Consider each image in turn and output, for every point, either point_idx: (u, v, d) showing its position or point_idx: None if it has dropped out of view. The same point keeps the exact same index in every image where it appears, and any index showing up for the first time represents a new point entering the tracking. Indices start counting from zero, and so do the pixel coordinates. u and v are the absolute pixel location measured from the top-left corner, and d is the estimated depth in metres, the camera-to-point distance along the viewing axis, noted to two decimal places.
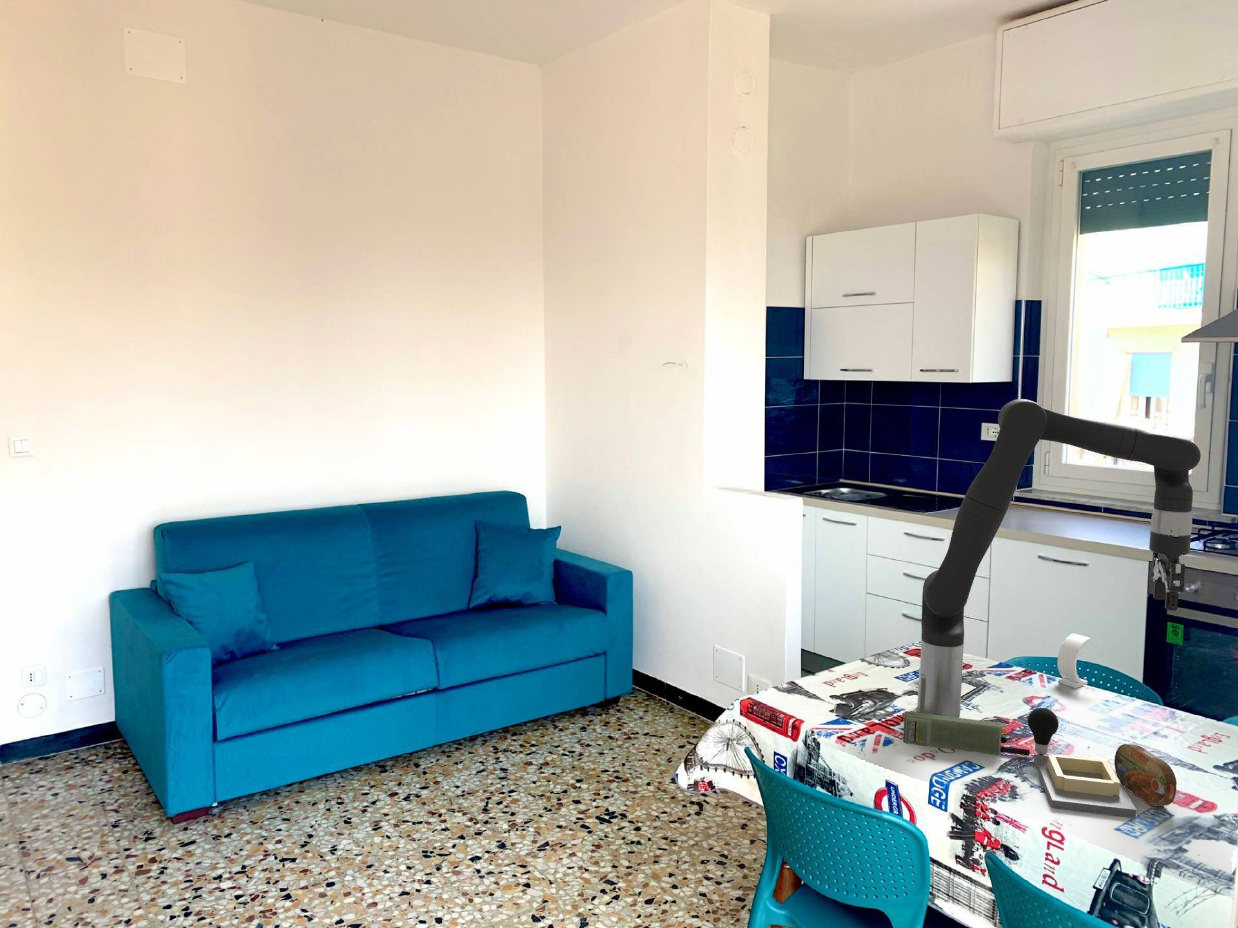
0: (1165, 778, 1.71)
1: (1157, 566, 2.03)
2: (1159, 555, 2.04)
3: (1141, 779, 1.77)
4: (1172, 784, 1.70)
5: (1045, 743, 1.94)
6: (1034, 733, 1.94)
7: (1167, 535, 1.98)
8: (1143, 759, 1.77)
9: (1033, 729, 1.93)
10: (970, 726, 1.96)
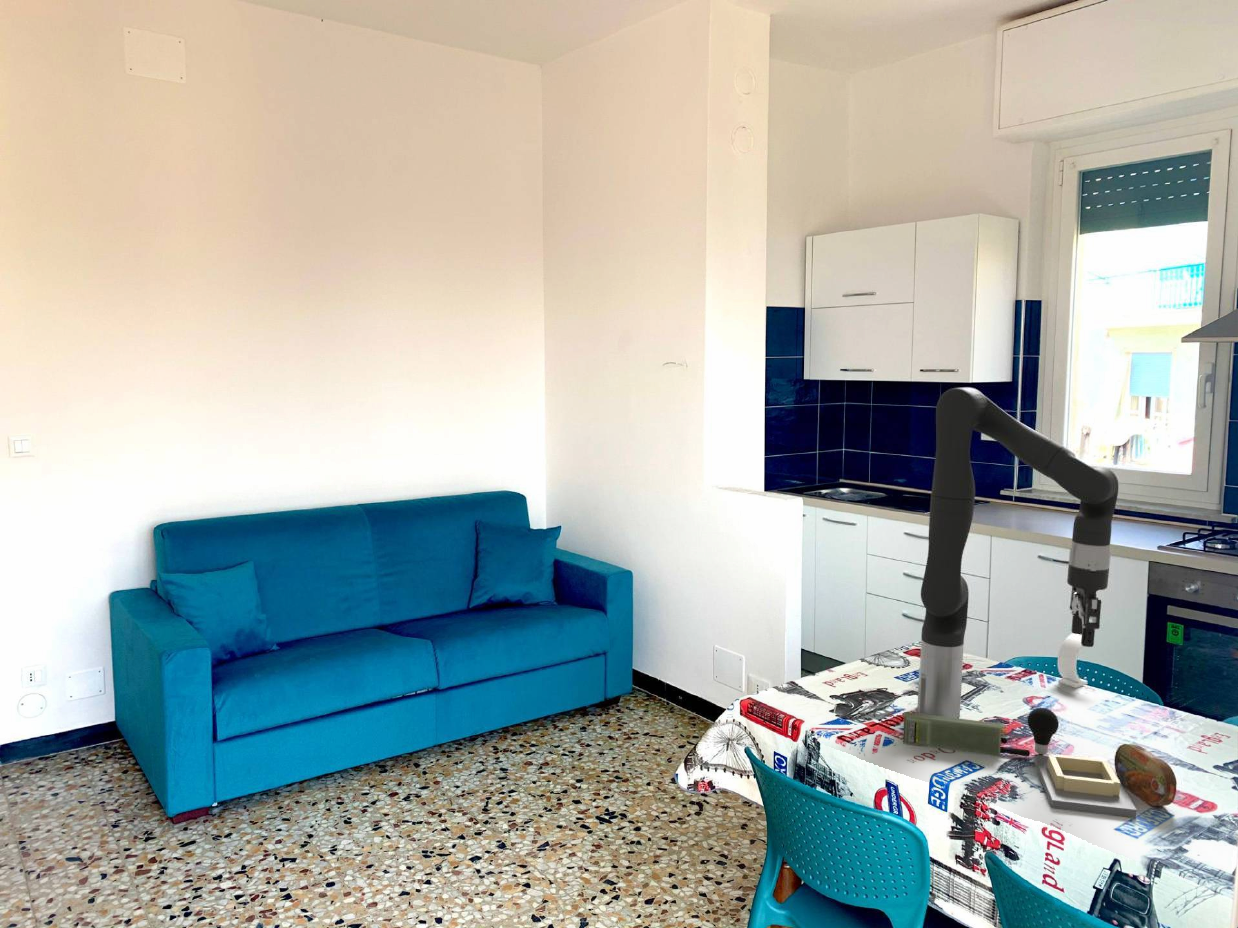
0: (1165, 778, 1.71)
1: (1075, 600, 1.97)
2: (1077, 588, 1.97)
3: (1141, 779, 1.77)
4: (1172, 784, 1.70)
5: (1045, 743, 1.94)
6: (1034, 733, 1.94)
7: (1084, 569, 1.91)
8: (1143, 759, 1.77)
9: (1033, 729, 1.93)
10: (970, 727, 1.96)
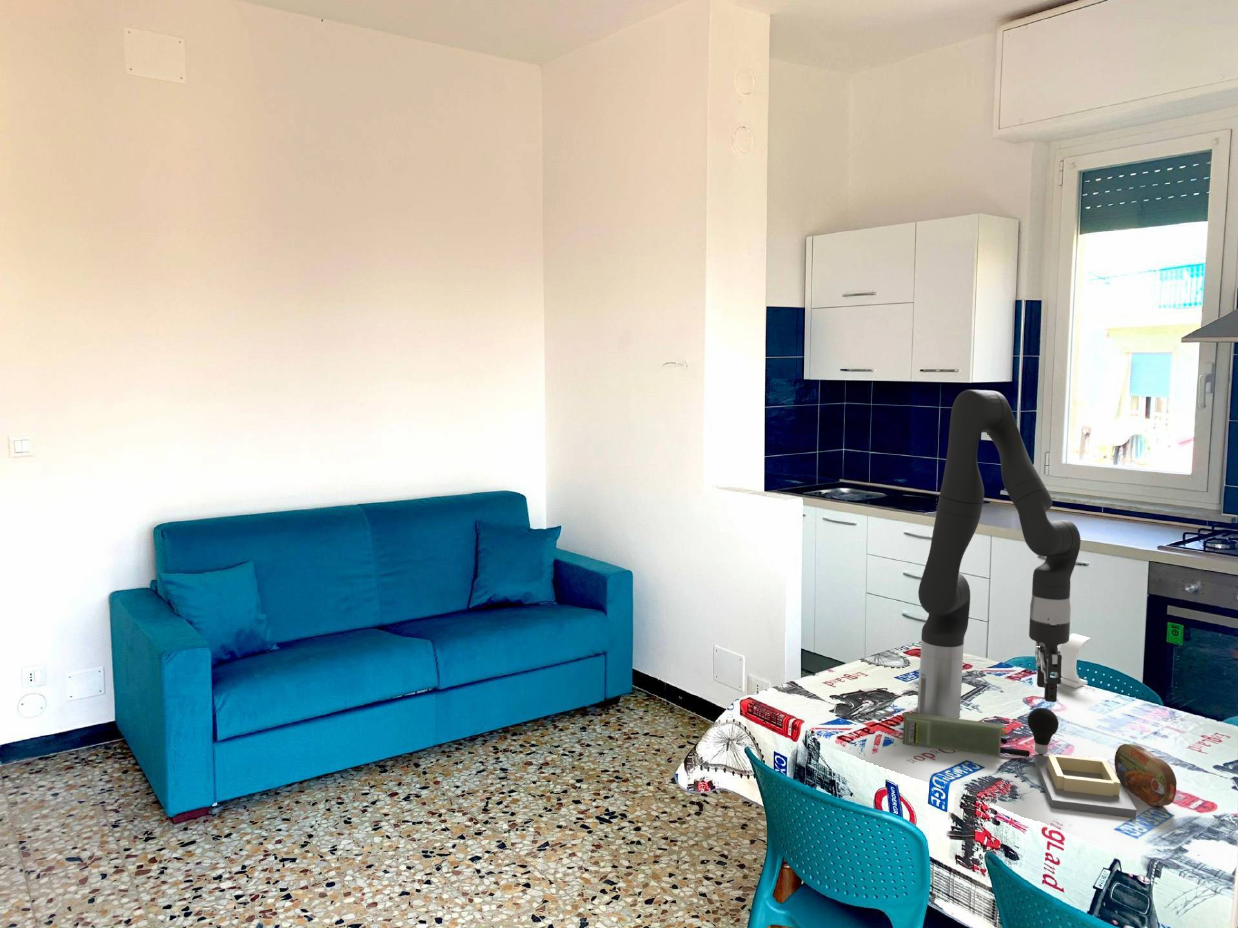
0: (1165, 778, 1.71)
1: (1038, 653, 1.94)
2: (1040, 642, 1.95)
3: (1141, 779, 1.77)
4: (1172, 784, 1.70)
5: (1045, 743, 1.94)
6: (1034, 733, 1.94)
7: (1044, 623, 1.89)
8: (1143, 759, 1.77)
9: (1033, 729, 1.93)
10: (970, 727, 1.95)
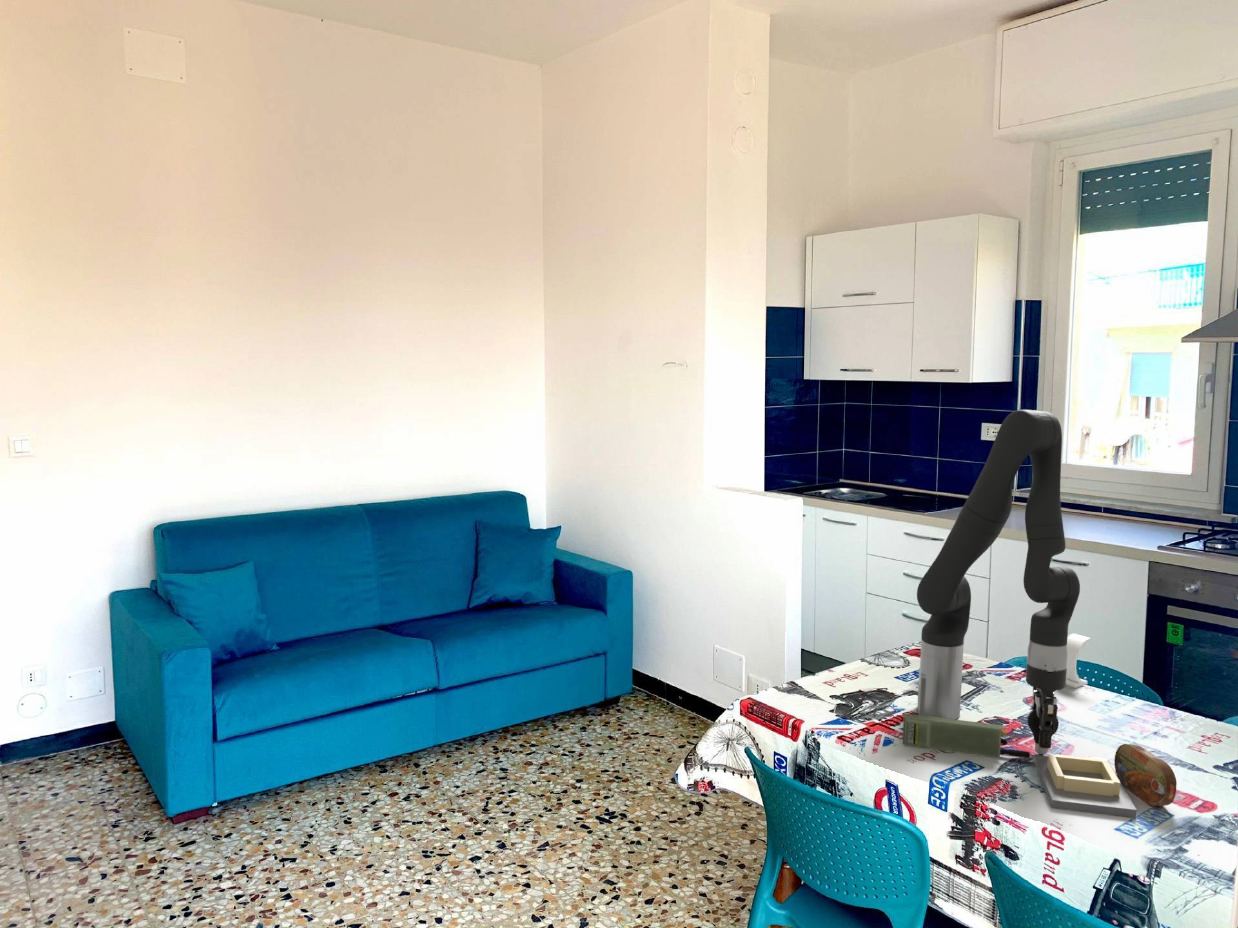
0: (1165, 778, 1.71)
1: (1035, 698, 1.95)
2: None
3: (1141, 779, 1.77)
4: (1172, 784, 1.70)
5: None
6: (1034, 733, 1.94)
7: (1041, 669, 1.90)
8: (1143, 759, 1.77)
9: (1033, 729, 1.93)
10: (970, 728, 1.95)
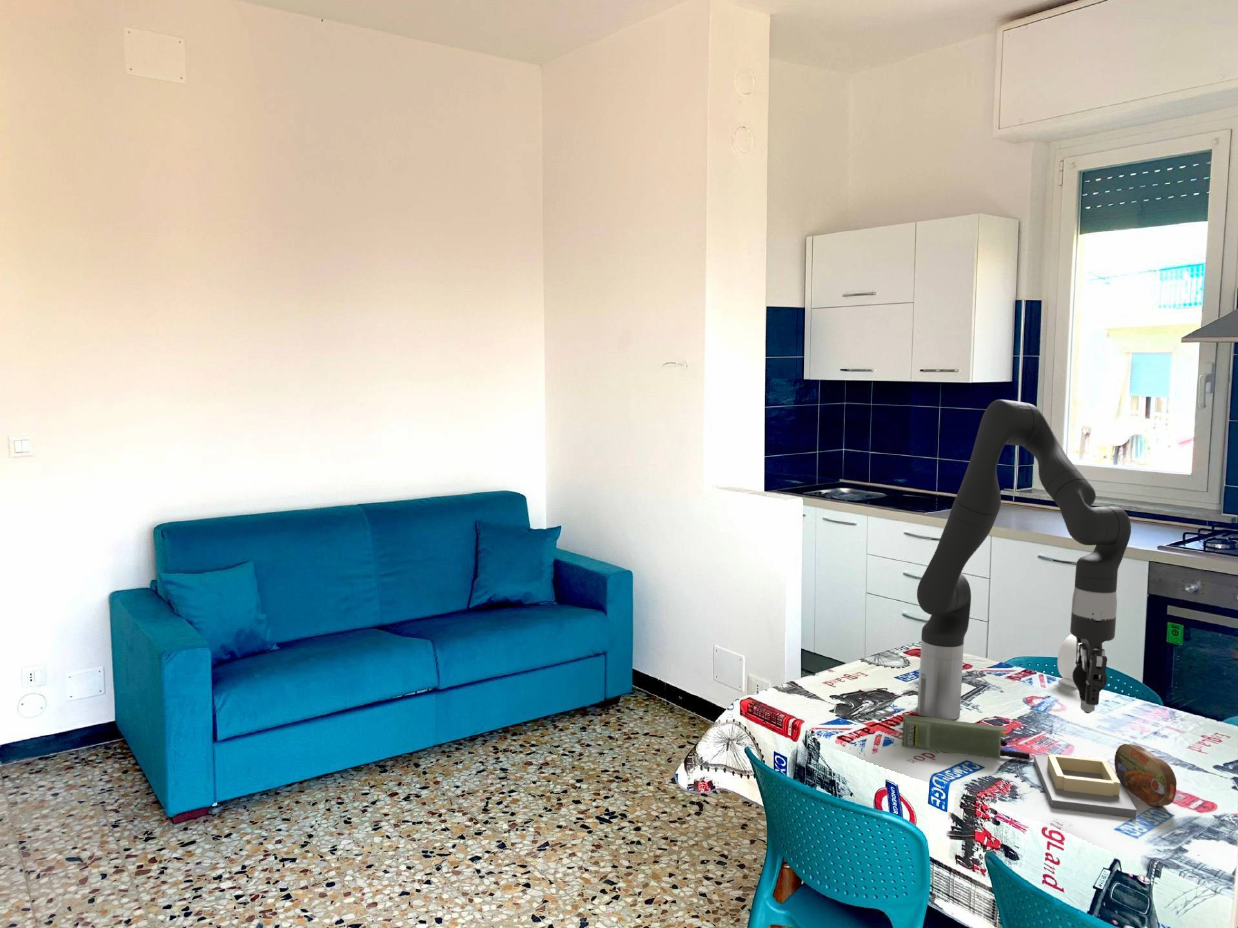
0: (1165, 778, 1.71)
1: (1080, 651, 1.79)
2: None
3: (1141, 779, 1.77)
4: (1172, 784, 1.70)
5: None
6: (1080, 689, 1.78)
7: (1088, 618, 1.74)
8: (1143, 759, 1.77)
9: (1079, 684, 1.77)
10: (970, 730, 1.94)
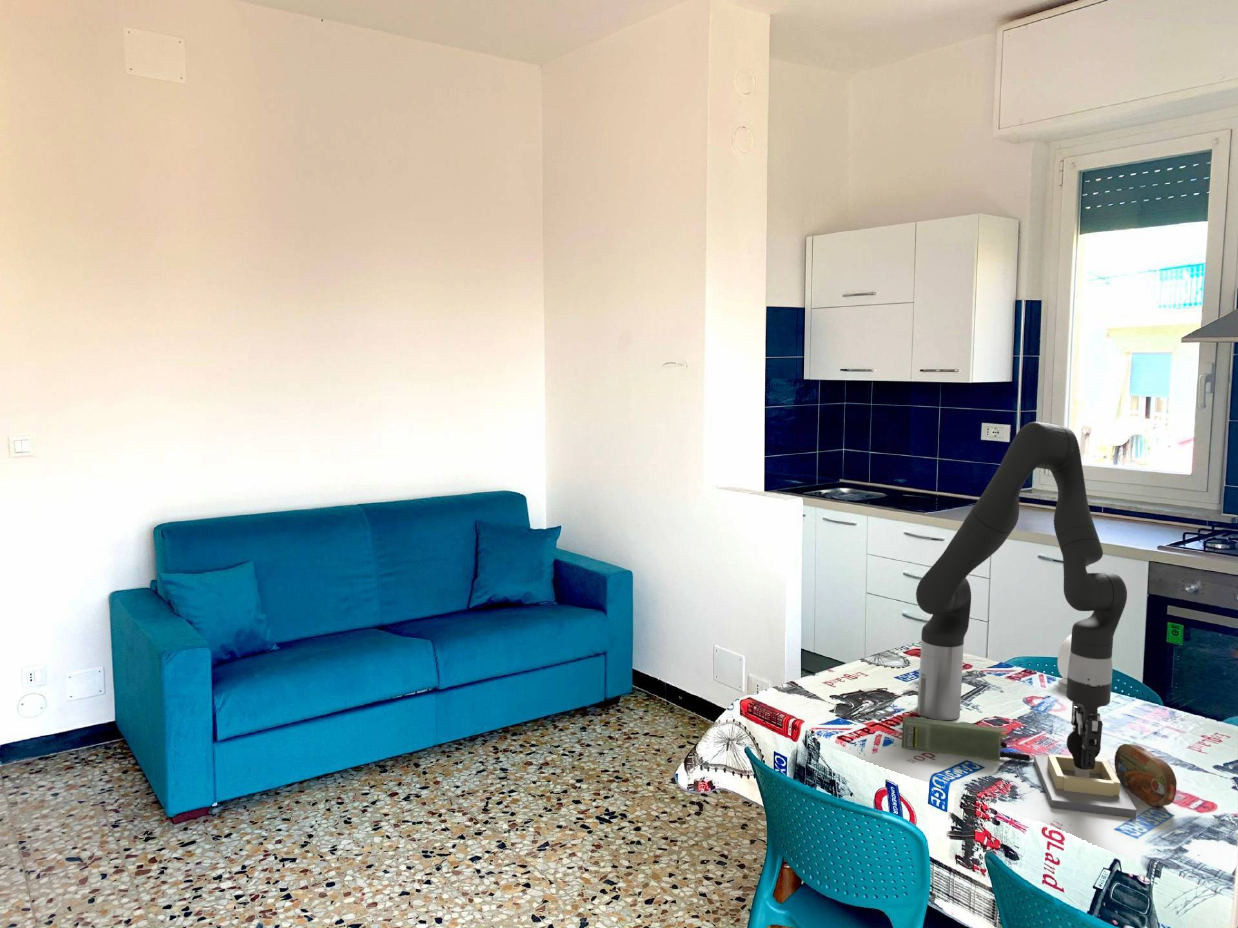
0: (1165, 778, 1.71)
1: (1075, 714, 1.81)
2: None
3: (1141, 779, 1.77)
4: (1172, 784, 1.70)
5: None
6: (1074, 756, 1.80)
7: (1084, 684, 1.75)
8: (1143, 759, 1.77)
9: (1073, 752, 1.79)
10: (970, 731, 1.94)
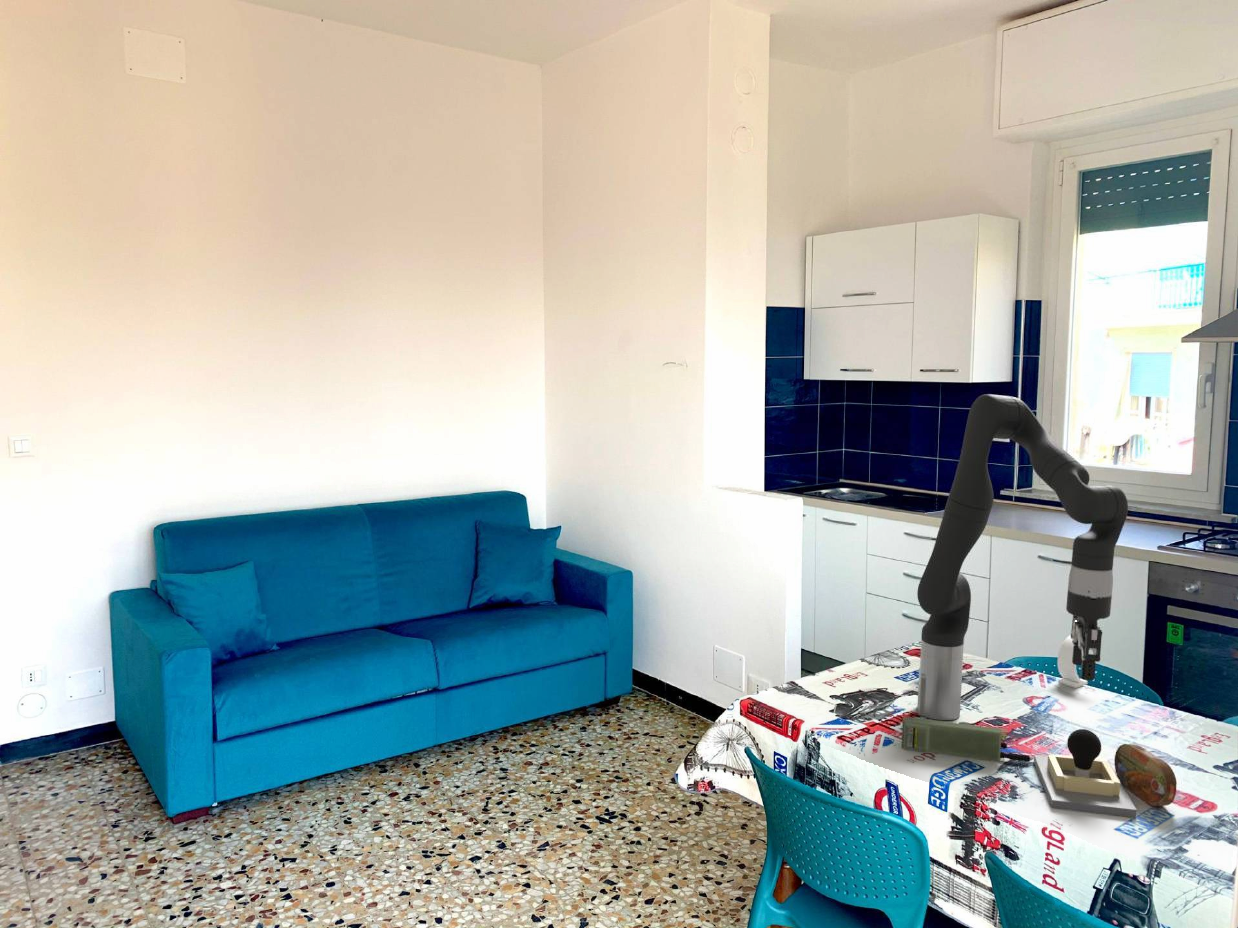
0: (1165, 778, 1.71)
1: (1075, 629, 1.81)
2: (1078, 616, 1.82)
3: (1141, 779, 1.77)
4: (1172, 784, 1.70)
5: (1087, 768, 1.79)
6: (1075, 757, 1.79)
7: (1084, 596, 1.75)
8: (1143, 759, 1.77)
9: (1074, 752, 1.79)
10: (970, 732, 1.93)
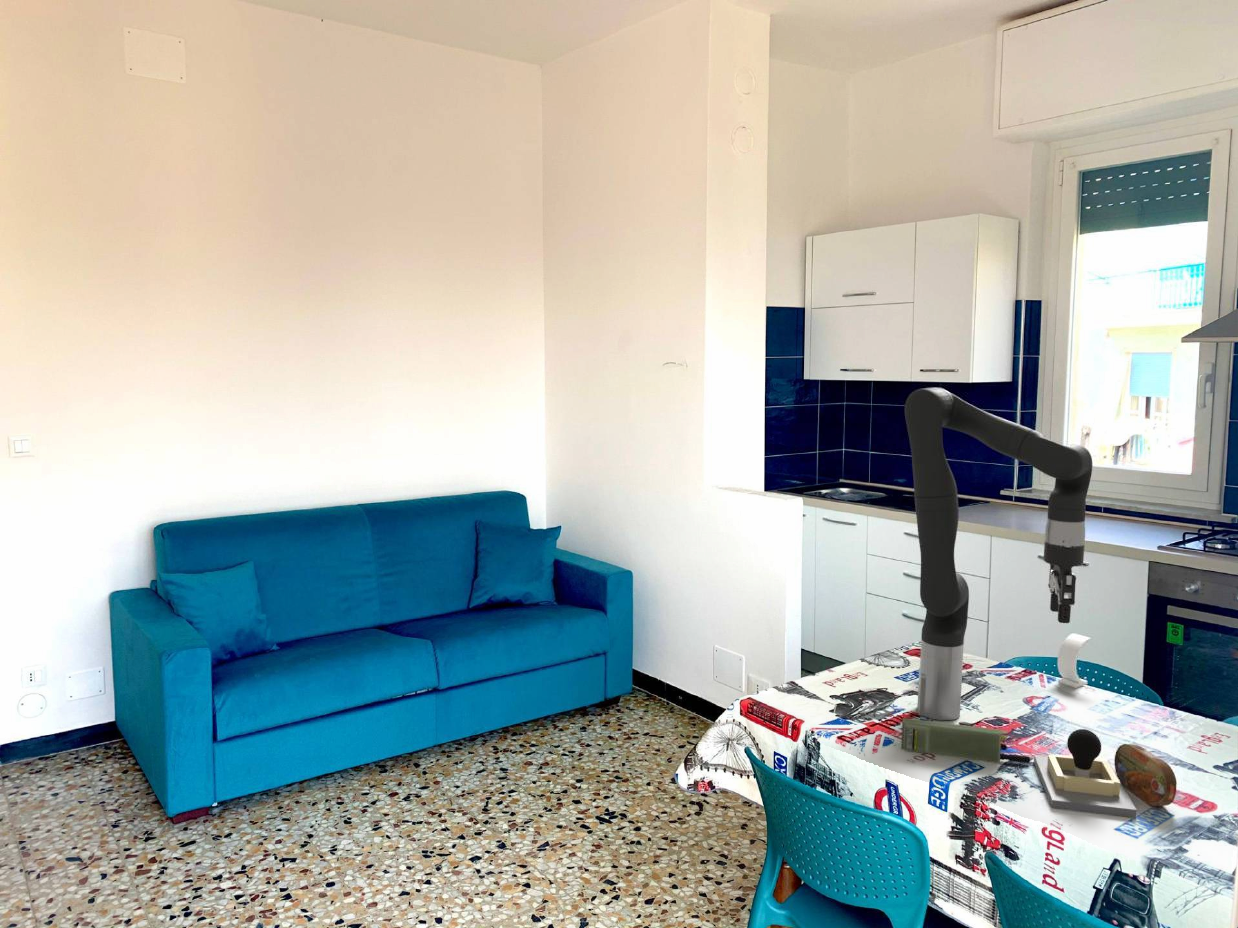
0: (1165, 778, 1.71)
1: (1052, 577, 1.98)
2: (1054, 566, 1.98)
3: (1141, 779, 1.77)
4: (1172, 784, 1.70)
5: (1087, 767, 1.79)
6: (1075, 757, 1.79)
7: (1059, 546, 1.92)
8: (1143, 759, 1.77)
9: (1074, 752, 1.79)
10: (969, 733, 1.93)
